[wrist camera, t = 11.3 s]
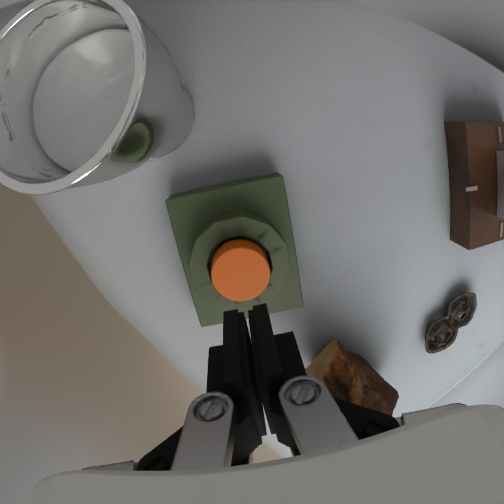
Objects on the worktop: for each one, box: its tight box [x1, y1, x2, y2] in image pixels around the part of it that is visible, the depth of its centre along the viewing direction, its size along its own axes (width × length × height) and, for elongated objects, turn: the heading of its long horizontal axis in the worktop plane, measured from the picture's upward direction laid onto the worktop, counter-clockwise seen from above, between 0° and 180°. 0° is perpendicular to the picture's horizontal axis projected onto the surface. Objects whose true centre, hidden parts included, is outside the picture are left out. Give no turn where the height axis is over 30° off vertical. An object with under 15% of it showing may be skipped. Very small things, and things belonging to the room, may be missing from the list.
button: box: [211, 239, 270, 301], centre depth 20 cm, size 4×4×2 cm
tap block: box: [444, 122, 504, 250], centre depth 22 cm, size 11×10×3 cm
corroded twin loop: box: [425, 293, 477, 353], centre depth 28 cm, size 5×8×1 cm, turn 144°
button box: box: [165, 173, 303, 327], centre depth 22 cm, size 10×8×4 cm
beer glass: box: [0, 0, 194, 195], centre depth 13 cm, size 7×7×15 cm
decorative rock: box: [305, 339, 399, 416], centre depth 24 cm, size 12×6×11 cm, turn 46°
